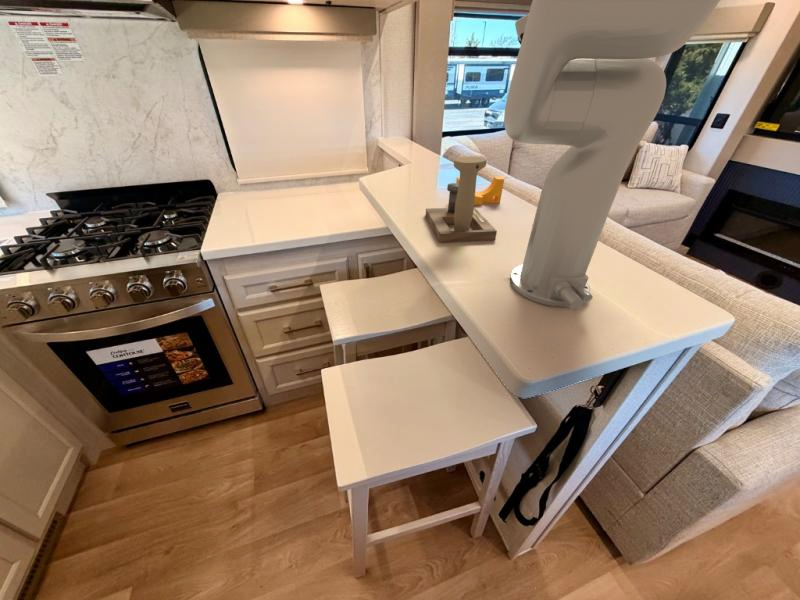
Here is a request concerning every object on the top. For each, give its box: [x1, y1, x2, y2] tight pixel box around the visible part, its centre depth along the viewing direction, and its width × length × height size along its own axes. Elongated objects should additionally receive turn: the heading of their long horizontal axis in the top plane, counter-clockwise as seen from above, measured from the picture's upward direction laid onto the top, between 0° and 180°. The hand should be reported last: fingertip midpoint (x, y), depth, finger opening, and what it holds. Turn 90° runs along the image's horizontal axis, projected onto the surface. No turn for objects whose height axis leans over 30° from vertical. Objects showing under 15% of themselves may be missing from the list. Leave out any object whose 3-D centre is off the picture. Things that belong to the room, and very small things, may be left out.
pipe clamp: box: [455, 176, 505, 206], centre depth 87 cm, size 12×4×6 cm, turn 95°
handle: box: [453, 156, 487, 231], centre depth 68 cm, size 5×6×15 cm
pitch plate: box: [425, 182, 498, 244], centre depth 72 cm, size 15×12×8 cm
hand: (549, 77), depth 64 cm, fingers open, 9 cm apart
